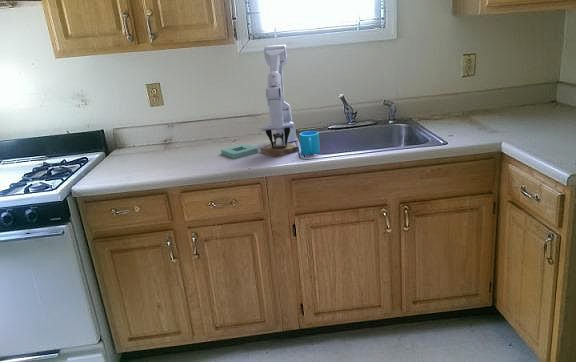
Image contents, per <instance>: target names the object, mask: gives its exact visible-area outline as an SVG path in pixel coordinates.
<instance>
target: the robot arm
mask: <svg viewBox="0 0 576 362" xmlns="http://www.w3.org/2000/svg"><path fill="white" fill-rule="evenodd" d="M263 55H264V59H265V61H266V64H267V66H269V68H270V70H269V71H270V73H269V74H268V75H267V88H265V98H266V100H267V106H268V112H269V121H270V123H269V125H263V126H260V132H265V134H266V136H267V137H268V139H269V141H270V145H272V147H274V146H273V145H274V139H273V133H272V131H274V133H283V134H284V135H283V141H284V143H285V146H287V143H288V144H289V143H292V142H295V141H298V138H297V134H296V133H297V132H296V124H295V123H294V122H293V115H292V114H293V112H292V107H291V105H290V104H289V103H288V102H286V101H285V89H284V88H285V87H284V86H285V85H284V66H285V65H286V64H287V63H288V50H287V45H286V44H277V45H265V46H264V48H263Z"/></svg>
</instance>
